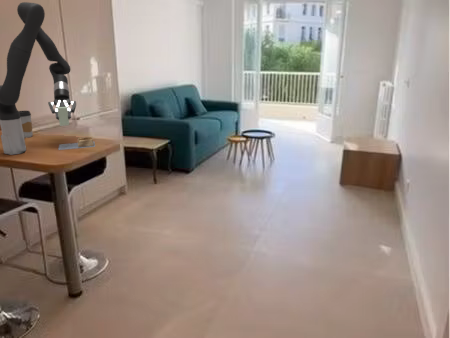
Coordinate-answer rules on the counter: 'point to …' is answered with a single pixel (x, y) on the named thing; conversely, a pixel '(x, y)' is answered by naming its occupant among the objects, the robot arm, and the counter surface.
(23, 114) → the coffee cup
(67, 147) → the blueprint board
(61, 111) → the pillar
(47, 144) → the counter surface
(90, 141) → the socket block
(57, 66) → the robot arm
